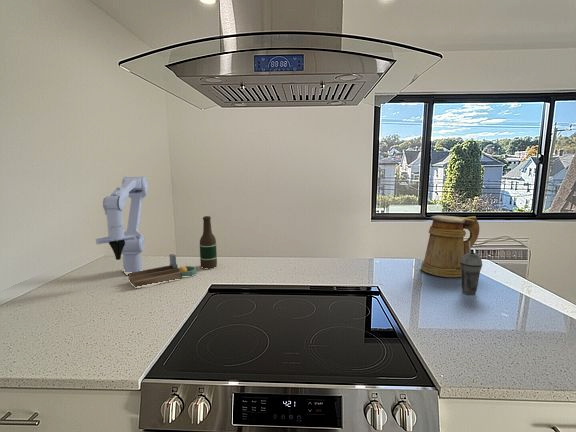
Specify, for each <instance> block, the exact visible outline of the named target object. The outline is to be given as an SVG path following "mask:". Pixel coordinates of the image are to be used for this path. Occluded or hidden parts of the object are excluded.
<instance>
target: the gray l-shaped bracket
mask: <svg viewBox="0 0 576 432" xmlns="http://www.w3.org/2000/svg"><path fill="white" fill-rule="evenodd" d="M169 265H170V269H176V268H179V267H178V266H179V265H178V263H177V255H175V254H174V253H170V254H169Z"/></svg>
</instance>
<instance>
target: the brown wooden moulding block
mask: <svg viewBox="0 0 576 432" xmlns="http://www.w3.org/2000/svg"><path fill="white" fill-rule="evenodd" d="M179 268H180V267H178V268H176V269H170V264H168V265H165V266H159V267H154V268H153V267H152V268H148V269H143V271H137V272H132V273H129V276H128V281H129V280H130V282H131V283H132V284H133V285H134V286H135V287H137V286H142V285H147V284H152V283H158V282H163V281H169V280H175V279H180V278H181V274H180V272H179ZM181 279H182V278H181Z"/></svg>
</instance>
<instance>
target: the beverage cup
mask: <svg viewBox="0 0 576 432" xmlns="http://www.w3.org/2000/svg"><path fill="white" fill-rule="evenodd" d="M471 250H472V247H471V246H470V241H469V251H468V253H466V254H465V255H464V256H463V257H462V259H461V262H460V263H461V273H462V277H461V292H462V293H461V294H463V295H465V296H476V294H477V290H478V284H479V279H480V275H481V274H480V273H481V270H482V267H483V262H482V261H483V260H482V258H481V257H480V256H479V255H478V253H476V252H472V251H471Z"/></svg>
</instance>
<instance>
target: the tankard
mask: <svg viewBox="0 0 576 432" xmlns="http://www.w3.org/2000/svg"><path fill="white" fill-rule="evenodd" d="M429 220H432V224H431V225H430V227H429V230H428V234H429V237H428V242H427V247H426V251H425V256H424V258H423V259H422V260H421V261H422V262H421V265H420V268H421V271H423V272H424V273H427V274H430V275H432V276H437V277H444V278H462V273H461V263H460V262H461V259H462V257H463V256H464V255H465V254H466V253H469V241H470V246H471V248H472V247H473V246H474V245H475V243H476V241H477V240H478V237H479V234H480V225H479V224H480V223H479V221H478V220H477V217H476V216H475V215H474V216H467V217H463V216H454V215H453V216H452V215H451V216H450V215H432V216H430V217H429ZM466 230H468V232H469V237H468V238H467V239H465V238H464V237H466V234H467V233H466ZM464 239H465V240H464Z"/></svg>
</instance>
